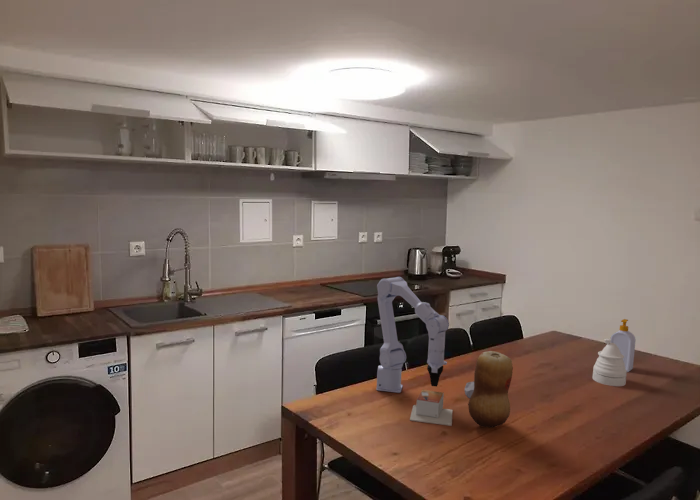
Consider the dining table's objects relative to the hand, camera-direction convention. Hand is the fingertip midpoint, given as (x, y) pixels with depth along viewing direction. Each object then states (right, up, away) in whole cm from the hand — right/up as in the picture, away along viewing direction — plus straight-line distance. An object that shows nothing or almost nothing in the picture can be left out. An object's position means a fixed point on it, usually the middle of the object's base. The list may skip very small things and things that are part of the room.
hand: (434, 385), depth 188 cm
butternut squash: (+16, -10, -14) cm, 23 cm away
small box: (-1, -4, 0) cm, 4 cm away
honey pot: (+81, -7, +34) cm, 88 cm away
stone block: (+19, -7, +14) cm, 24 cm away
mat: (-2, -8, -8) cm, 12 cm away
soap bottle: (+95, -6, +51) cm, 108 cm away
